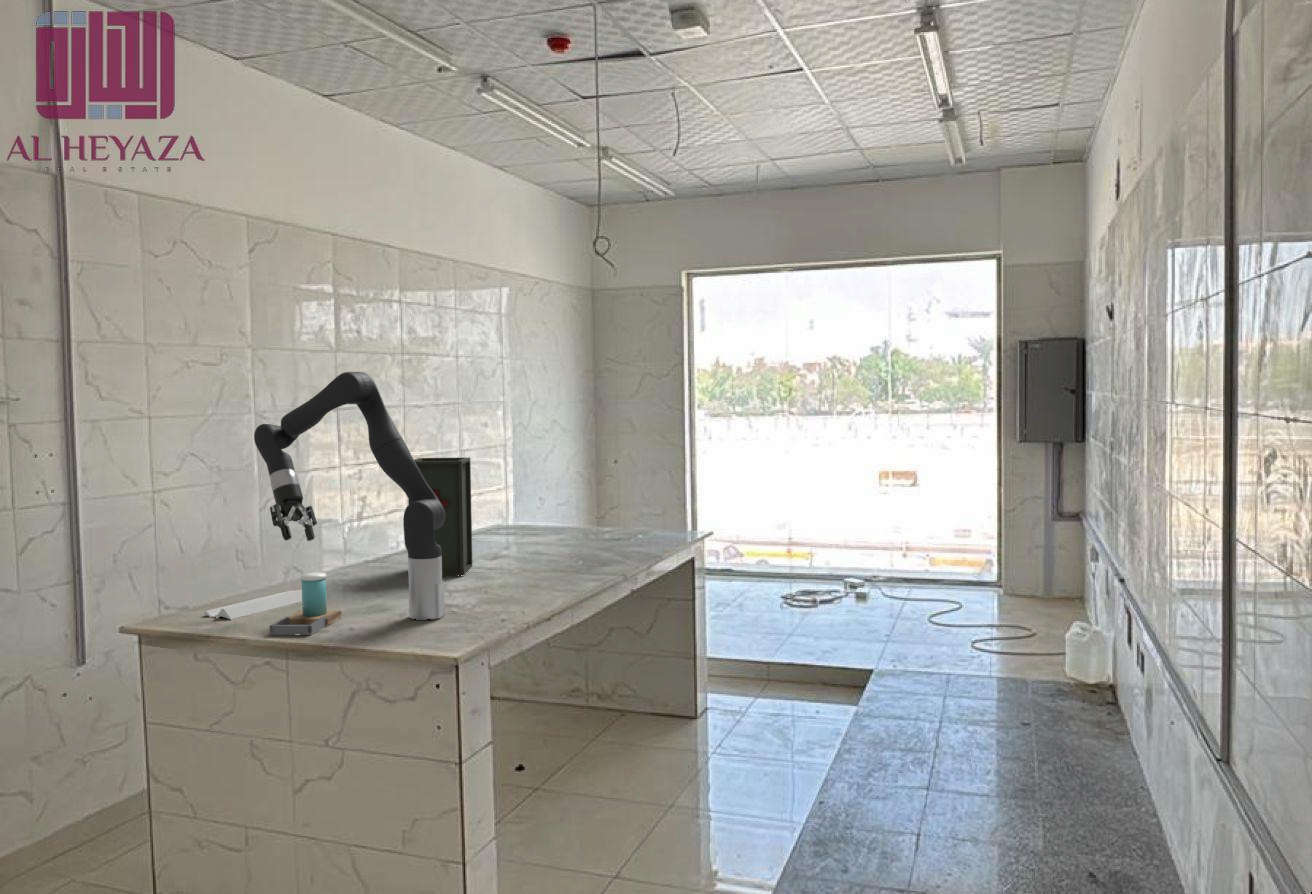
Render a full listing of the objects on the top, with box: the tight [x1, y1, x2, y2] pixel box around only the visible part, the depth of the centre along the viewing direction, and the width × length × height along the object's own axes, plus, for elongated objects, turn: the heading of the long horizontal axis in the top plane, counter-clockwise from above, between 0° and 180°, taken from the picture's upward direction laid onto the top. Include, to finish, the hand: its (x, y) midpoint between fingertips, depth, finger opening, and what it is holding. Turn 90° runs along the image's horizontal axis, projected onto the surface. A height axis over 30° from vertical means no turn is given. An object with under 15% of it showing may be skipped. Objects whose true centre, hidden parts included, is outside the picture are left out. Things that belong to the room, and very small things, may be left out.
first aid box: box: [407, 457, 473, 577], centre depth 336 cm, size 18×18×40 cm
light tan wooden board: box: [288, 610, 342, 626], centre depth 263 cm, size 12×10×2 cm
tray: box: [269, 616, 326, 636], centre depth 254 cm, size 11×10×3 cm
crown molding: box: [203, 588, 302, 620], centre depth 282 cm, size 31×12×4 cm, turn 153°
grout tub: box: [300, 572, 328, 617], centre depth 264 cm, size 7×7×11 cm
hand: (299, 539), depth 271 cm, fingers open, 8 cm apart
